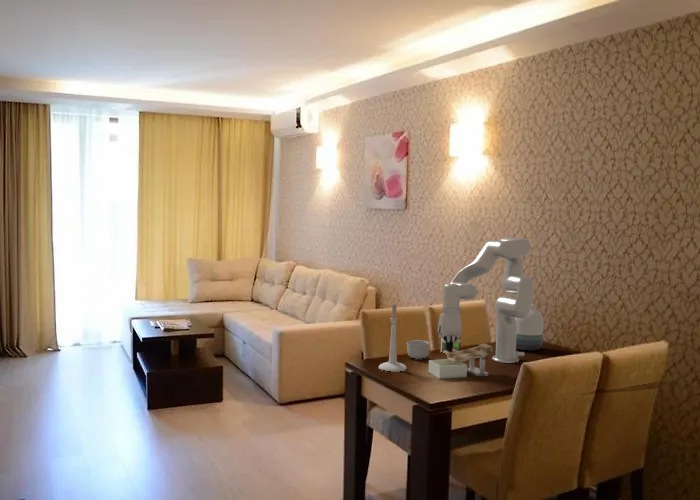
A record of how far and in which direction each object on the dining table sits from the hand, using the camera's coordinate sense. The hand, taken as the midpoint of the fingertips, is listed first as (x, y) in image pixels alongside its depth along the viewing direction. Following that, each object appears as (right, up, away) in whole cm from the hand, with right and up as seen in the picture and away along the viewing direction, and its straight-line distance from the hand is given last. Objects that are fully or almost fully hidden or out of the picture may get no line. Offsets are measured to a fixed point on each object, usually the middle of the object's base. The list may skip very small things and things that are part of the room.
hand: (449, 350), depth 269 cm
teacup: (-12, -7, +21) cm, 26 cm away
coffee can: (+6, -7, +33) cm, 35 cm away
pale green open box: (-2, -9, -10) cm, 14 cm away
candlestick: (-26, -8, -1) cm, 27 cm away
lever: (+7, -1, -3) cm, 8 cm away
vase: (+49, -7, +46) cm, 67 cm away
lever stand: (+11, -9, -6) cm, 16 cm away
